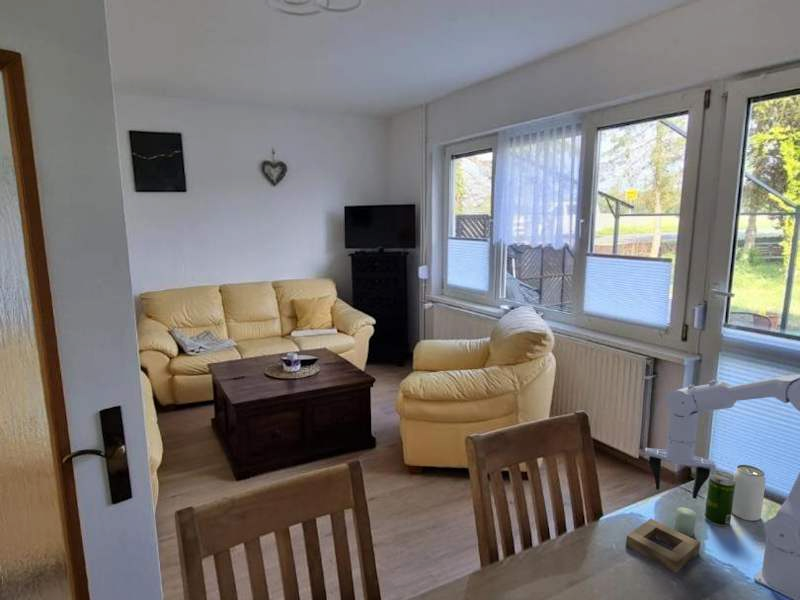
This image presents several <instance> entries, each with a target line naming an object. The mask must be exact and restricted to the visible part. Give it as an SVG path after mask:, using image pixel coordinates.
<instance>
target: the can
mask: <svg viewBox="0 0 800 600" xmlns="http://www.w3.org/2000/svg"><path fill="white" fill-rule="evenodd" d="M733 477H734V478H735V480H734V481H735V491H734V499H733V506H732V515H734V516H735V517H737V518H739V519H741V520H744V521H749V522H757V521H759V520H761V516H762V511H763V505H764V504H763V503H764V498H765V495H764V494H765V489H766V477H765V472H764V471H763V470H762V469H760V468H758V467H757V466H753V465H749V464H739V465H737V467H736V469H735V471H734V473H733Z"/></svg>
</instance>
